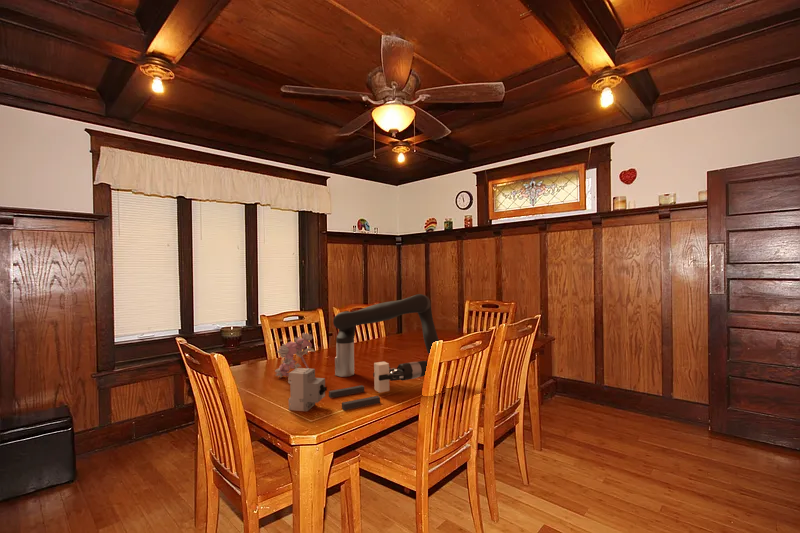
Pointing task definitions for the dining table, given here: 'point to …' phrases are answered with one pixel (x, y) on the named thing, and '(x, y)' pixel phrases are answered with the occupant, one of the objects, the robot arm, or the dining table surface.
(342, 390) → the dark gray parallel rails
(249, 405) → the dining table surface
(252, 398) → the dining table surface
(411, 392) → the dining table surface
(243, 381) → the dining table surface
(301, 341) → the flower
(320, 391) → the circuit breaker
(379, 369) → the plug block
